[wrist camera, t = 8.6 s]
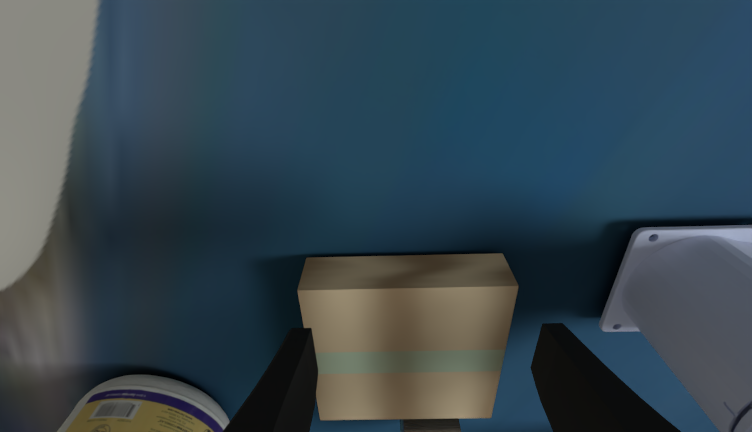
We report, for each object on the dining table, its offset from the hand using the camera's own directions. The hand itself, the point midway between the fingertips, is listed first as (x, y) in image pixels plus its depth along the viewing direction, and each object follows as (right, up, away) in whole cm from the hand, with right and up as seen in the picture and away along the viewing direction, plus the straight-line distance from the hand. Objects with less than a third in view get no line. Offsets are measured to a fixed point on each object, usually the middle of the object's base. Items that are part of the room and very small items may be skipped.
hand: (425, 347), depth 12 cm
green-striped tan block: (0, -3, +14) cm, 14 cm away
